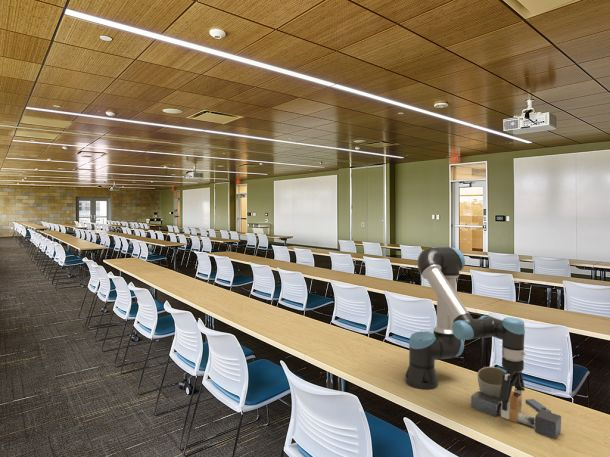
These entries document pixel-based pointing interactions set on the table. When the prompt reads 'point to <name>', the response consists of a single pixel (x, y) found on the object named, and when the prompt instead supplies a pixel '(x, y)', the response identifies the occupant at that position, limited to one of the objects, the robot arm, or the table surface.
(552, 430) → the socket
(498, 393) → the planter
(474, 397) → the grey block
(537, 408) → the bracket
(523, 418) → the orange and grey piece
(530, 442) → the table surface
